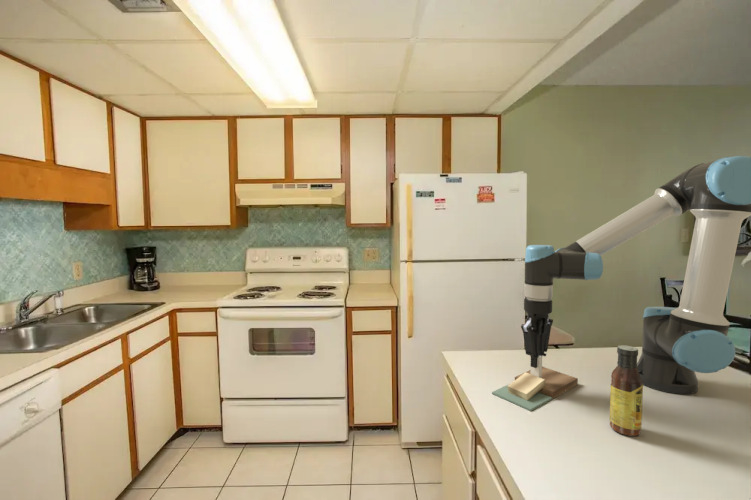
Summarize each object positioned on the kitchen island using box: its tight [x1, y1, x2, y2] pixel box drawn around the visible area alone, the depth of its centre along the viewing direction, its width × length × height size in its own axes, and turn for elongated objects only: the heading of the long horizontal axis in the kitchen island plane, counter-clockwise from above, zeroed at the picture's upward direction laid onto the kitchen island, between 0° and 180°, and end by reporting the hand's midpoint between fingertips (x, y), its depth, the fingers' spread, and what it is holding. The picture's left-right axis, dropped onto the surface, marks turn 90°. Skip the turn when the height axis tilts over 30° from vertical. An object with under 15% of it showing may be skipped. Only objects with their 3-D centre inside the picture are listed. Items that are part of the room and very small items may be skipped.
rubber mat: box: [491, 383, 553, 412], centre depth 103 cm, size 12×10×1 cm
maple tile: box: [507, 371, 545, 400], centre depth 104 cm, size 6×9×2 cm, turn 125°
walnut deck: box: [514, 366, 579, 400], centre depth 110 cm, size 12×14×2 cm
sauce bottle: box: [609, 345, 644, 437], centre depth 85 cm, size 7×6×20 cm
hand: (535, 376), depth 107 cm, fingers closed
